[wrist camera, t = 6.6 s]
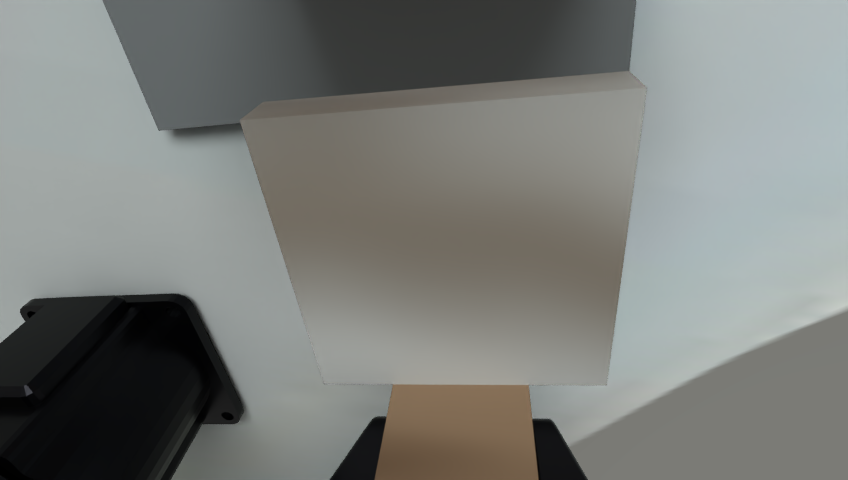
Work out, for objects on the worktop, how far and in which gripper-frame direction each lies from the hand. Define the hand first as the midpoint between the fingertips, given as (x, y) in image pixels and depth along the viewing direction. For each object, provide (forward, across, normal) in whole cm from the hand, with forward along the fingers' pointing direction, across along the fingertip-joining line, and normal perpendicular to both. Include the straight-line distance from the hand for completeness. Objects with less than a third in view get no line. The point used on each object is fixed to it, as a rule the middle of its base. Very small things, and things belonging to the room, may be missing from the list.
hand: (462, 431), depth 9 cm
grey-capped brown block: (+1, 0, -1) cm, 1 cm away
